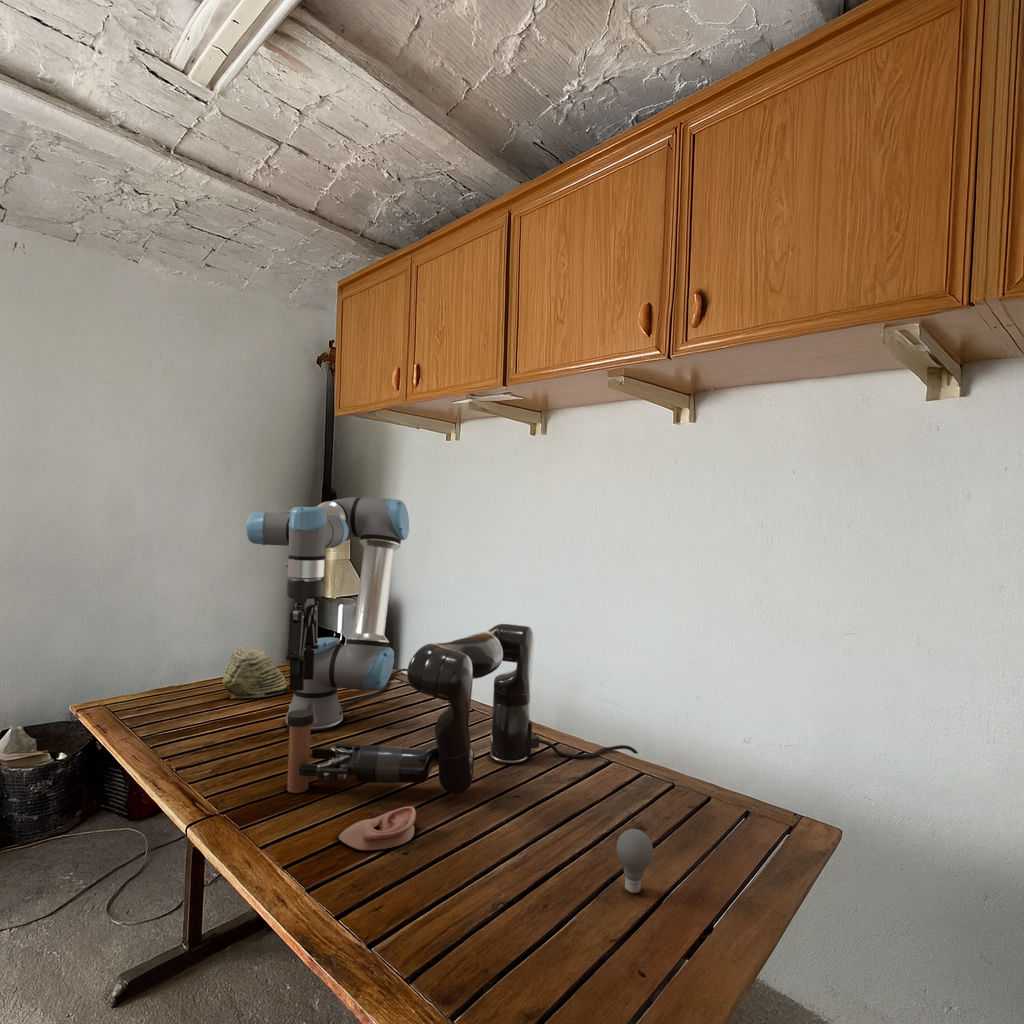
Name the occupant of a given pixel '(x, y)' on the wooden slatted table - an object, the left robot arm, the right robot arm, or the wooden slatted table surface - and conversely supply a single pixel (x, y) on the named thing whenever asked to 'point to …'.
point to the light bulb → (634, 857)
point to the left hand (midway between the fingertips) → (301, 684)
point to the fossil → (252, 674)
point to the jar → (298, 758)
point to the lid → (300, 717)
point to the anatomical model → (381, 830)
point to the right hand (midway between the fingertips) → (306, 761)
